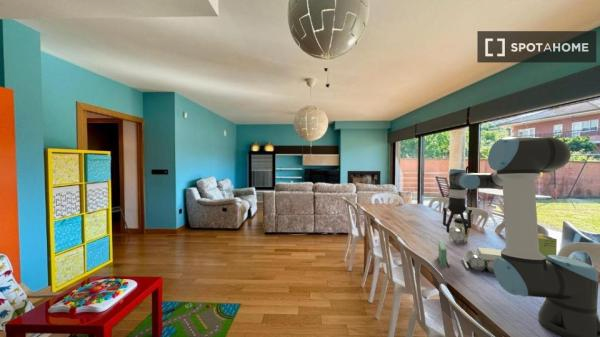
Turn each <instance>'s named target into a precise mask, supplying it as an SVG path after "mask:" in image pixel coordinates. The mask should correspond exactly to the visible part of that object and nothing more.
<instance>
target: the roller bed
mask: <svg viewBox="0 0 600 337" xmlns="http://www.w3.org/2000/svg"><path fill="white" fill-rule="evenodd" d="M465 257H466V260H467V262H468V264H469V265H470V267H471V269H472V270H473V271H475V272H478V273H481V272H483V271H484V270H486V268H487V270H488V272H489V273H490V274H494V275H495V273H494V268H493V263H494V262H495V261H492V260H485V259H481V257H480V256H479V254H478V253H477V252H476V251H474V250H469V251H467V252H466V253H465Z"/></svg>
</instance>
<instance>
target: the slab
mask: <svg viewBox="0 0 600 337" xmlns="http://www.w3.org/2000/svg"><path fill="white" fill-rule="evenodd" d="M476 249H477V250H476V251H477V252H476V253H477V254H478V255H479V257H480V258H481V259H485V260H492V261H494V260H495V259H497V258H501V251H502V250H503V249H495V248H489V247H488V248H487V247H486V248H485V247H479V246H478V247H477V248H476Z"/></svg>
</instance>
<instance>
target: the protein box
mask: <svg viewBox="0 0 600 337" xmlns="http://www.w3.org/2000/svg"><path fill="white" fill-rule="evenodd" d="M538 241H539V252H540V253H541V254H542V255H544V256H545V257H547V256H548V255H557V239H556V238H554V237H551V236H549V235H546V234H544V233H538ZM546 261H547V259H546Z"/></svg>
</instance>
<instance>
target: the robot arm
mask: <svg viewBox="0 0 600 337" xmlns="http://www.w3.org/2000/svg"><path fill="white" fill-rule="evenodd" d="M571 155H572V152H571V148H570V147H569V145H568V144H567V143H566V142H564V141H563V140H561V139H559V138H556V137H552V136H510V137H503V138H502V137H501V138H499V139H497V140H496V141H495V142H494V143H493V144H492V145H491V147H490V148H489V151H488V156H487V157H488V158H487V159H488V160H487V161H488V162H487V163H488V165H489V168H490V169H492V170H494V172H492V173H491V172H490V173H489V172H488V173H481V172H480V173H478V172H477V173H475V172H469V173H467V171H466V168H451V169H449V175H448V176H449V177H448V178H449V180H448V182H449V184H448V185H449V186H448V188H449V190H448V195H449V197H448V206H445V207H444V206H443V207H442V210H443V215H442V225H443V226H445V229H446V234H448V240H452V238H451V227H452V226H451V224H452V221H453V218H454V216H455V215H459V216H460V218H461V219H462V222H463V225H464V228H462V234H463V235H464V237H465V235H467V229H468V228H470V229H471V228H472V212H473V210H472V209H471V208H467V206H466V198H465V197H466V190H474V189H481V190H482V189H489V190H491V189H494V190H495V189H496V190H502V196H503V197H502V198H503V199H502V200H503V217H504V235H505V248H503V249H501V250H502V251H501V258H497V259H495V260H494V261H495V262H494V263H493V268H494V273H495V274H494V275H495V278H496V281H497V282H498V284H499V285H500V287H501V288H502V289H503V290H504V292H507V293H508V294H510V295H513V296H521V297H524V298H525V297H531V298H532V297H534V298H545V300H544V301H543V303H542V305H541V307H540V309H539V310H538V322H539V323H540V324H541V325H542V326H543V327H544V328H545V329H547V330H549V331H551V332H552V333H554V334H556V335H558V336H561V337H600V317H599V315H598V294H599V282H600V280H599V273H598V270H597V268H595V266H592V265H590V264H588V263H586V262H584V261H581V260H577V259H574V258H571V257H566V256H563V255H557V254H556V255H548V256H547V257H545V256H544V255H542V254H541V253H540V252H539V241H538V234H539V229H538V216H537V215H538V214H537V213H538V212H537V199H536V198H537V195H536V184H535V182H536V181H535V180H536V179H537V178H538V177H540V176H541V173H543V174H547V173H551V172H555V171H557V170H559V169H561V168H563V167H565V166H566V165H567V164H568V163H569V162H570V159H571ZM448 210H449V211H450V214H449V217H448V220H447V212H448ZM465 211H466V213H467V214H466V215H467V216H466V217H467V218H465V217H464V213H465ZM465 219H468V225H466V222H465ZM546 259H547V261H546Z"/></svg>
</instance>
